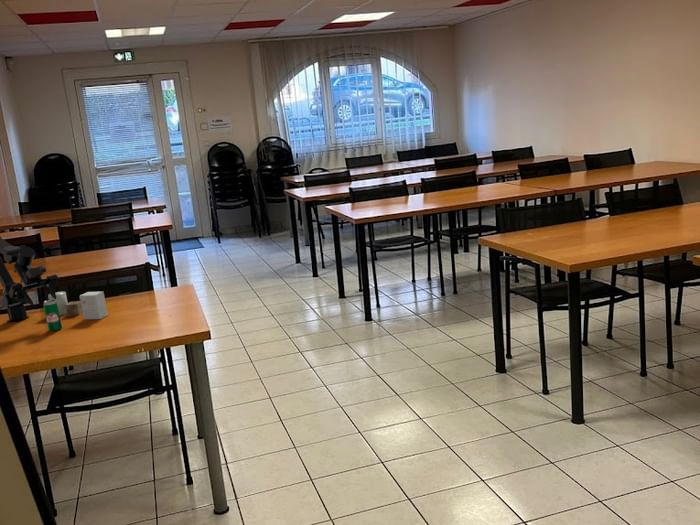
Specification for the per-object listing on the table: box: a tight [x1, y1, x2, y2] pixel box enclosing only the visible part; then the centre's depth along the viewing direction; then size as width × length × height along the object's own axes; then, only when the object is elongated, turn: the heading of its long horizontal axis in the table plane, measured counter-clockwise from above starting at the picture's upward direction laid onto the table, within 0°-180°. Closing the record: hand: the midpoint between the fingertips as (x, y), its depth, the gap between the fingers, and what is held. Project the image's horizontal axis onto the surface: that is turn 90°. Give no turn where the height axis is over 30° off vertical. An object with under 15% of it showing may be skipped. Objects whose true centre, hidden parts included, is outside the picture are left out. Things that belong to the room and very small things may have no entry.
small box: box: [79, 290, 109, 320], centre depth 273 cm, size 8×6×10 cm
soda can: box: [42, 299, 63, 332], centre depth 260 cm, size 5×5×12 cm
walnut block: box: [65, 300, 83, 317], centre depth 282 cm, size 5×5×5 cm
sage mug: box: [47, 291, 69, 317], centre depth 285 cm, size 8×7×9 cm
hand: (44, 301), depth 262 cm, fingers open, 9 cm apart
